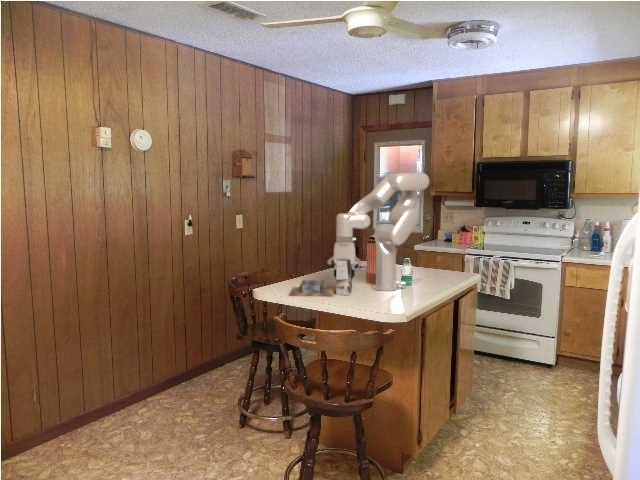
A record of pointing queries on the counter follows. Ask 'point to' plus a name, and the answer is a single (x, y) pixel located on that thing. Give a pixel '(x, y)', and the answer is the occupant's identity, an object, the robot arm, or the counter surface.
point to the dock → (312, 289)
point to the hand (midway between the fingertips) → (344, 277)
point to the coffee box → (343, 277)
